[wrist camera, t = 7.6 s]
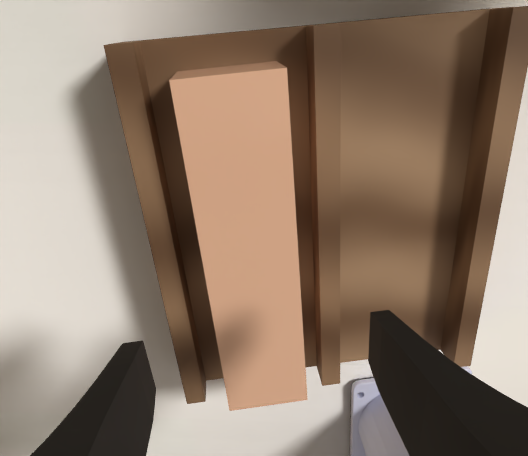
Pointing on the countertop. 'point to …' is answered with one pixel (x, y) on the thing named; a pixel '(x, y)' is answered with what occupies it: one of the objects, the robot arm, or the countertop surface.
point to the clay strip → (246, 224)
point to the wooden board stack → (347, 173)
